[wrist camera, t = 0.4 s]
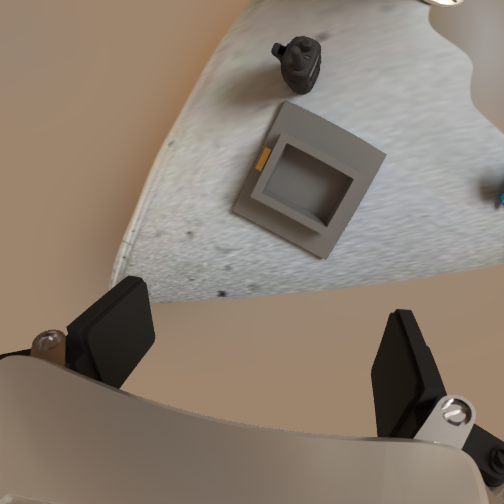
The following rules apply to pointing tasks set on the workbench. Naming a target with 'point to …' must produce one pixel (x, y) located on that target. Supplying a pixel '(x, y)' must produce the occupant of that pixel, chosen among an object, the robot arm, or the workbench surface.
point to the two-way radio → (299, 63)
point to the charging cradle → (308, 180)
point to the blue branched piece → (502, 198)
